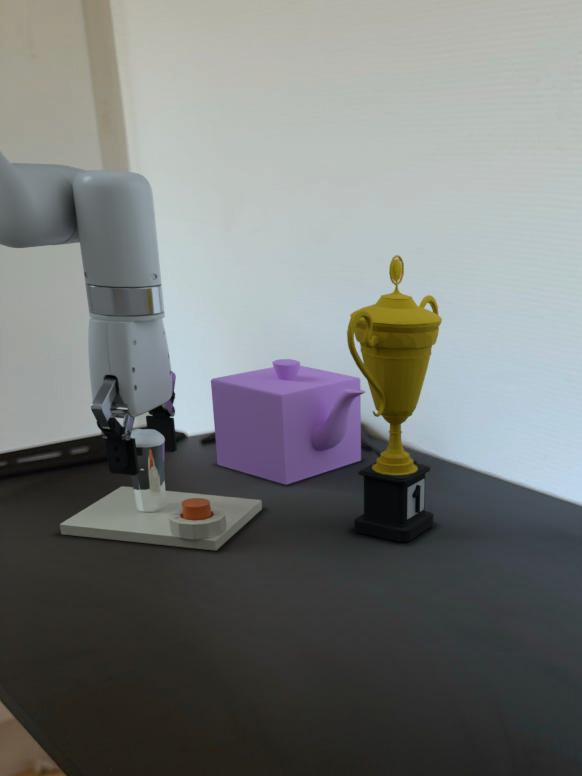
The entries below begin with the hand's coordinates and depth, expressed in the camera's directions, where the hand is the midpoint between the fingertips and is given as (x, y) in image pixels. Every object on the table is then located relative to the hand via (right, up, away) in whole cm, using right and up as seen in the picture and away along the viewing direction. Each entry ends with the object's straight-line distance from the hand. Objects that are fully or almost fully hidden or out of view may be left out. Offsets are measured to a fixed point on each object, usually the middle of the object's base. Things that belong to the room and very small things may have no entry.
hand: (144, 461), depth 105 cm
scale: (+2, -6, +2) cm, 7 cm away
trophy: (+28, -7, +4) cm, 29 cm away
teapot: (+12, +4, +25) cm, 28 cm away
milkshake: (0, -5, +2) cm, 6 cm away
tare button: (+7, -7, -3) cm, 10 cm away
